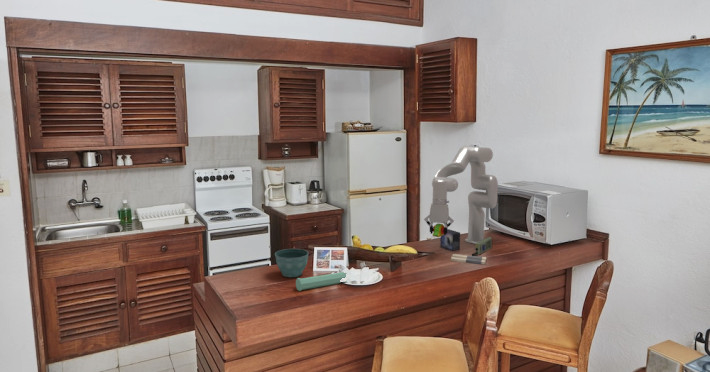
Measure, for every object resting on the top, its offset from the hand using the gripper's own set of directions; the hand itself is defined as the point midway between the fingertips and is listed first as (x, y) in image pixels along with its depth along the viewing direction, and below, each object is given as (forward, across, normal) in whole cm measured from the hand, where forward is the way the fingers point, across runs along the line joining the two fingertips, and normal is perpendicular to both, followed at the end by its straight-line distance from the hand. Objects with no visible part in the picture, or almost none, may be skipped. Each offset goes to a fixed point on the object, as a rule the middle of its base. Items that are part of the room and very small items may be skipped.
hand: (438, 233), depth 274 cm
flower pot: (+13, +62, +55) cm, 84 cm away
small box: (+14, -4, -21) cm, 25 cm away
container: (+13, +42, +64) cm, 78 cm away
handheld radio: (+14, -22, -20) cm, 33 cm away
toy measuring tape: (+2, +1, +2) cm, 3 cm away
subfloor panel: (+13, -17, 0) cm, 22 cm away
